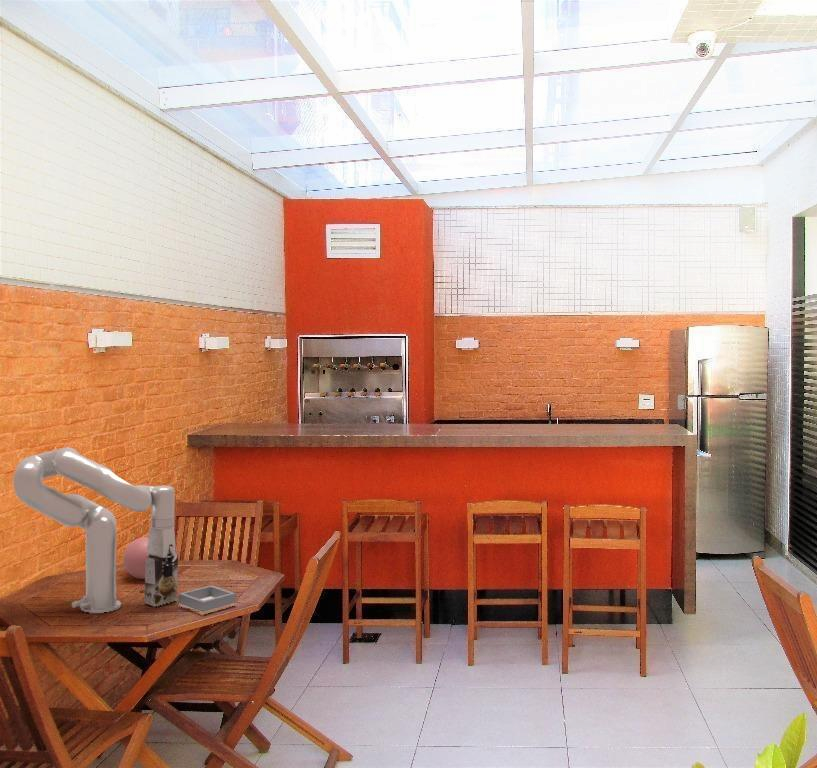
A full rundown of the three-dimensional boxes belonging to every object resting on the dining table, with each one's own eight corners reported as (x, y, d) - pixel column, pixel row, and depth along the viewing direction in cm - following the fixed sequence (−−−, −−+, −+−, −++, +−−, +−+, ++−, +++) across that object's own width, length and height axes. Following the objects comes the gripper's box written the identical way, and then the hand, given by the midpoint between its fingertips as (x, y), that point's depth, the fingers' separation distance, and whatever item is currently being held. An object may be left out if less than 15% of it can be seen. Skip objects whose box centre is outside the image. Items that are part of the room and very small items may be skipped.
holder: (203, 615, 280) (203, 602, 280) (178, 606, 288) (178, 593, 288) (235, 606, 290) (235, 593, 290) (211, 597, 299) (211, 585, 298)
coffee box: (155, 607, 286) (156, 559, 285) (143, 603, 290) (144, 556, 289) (177, 601, 294) (179, 554, 293) (166, 597, 297) (167, 551, 297)
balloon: (153, 567, 335) (153, 528, 334) (172, 580, 319) (172, 539, 318) (113, 573, 326) (113, 533, 325) (131, 586, 310) (131, 544, 309)
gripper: (138, 520, 293) (137, 571, 294) (168, 528, 282) (167, 582, 283) (157, 516, 299) (156, 567, 300) (187, 525, 288) (186, 577, 289)
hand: (161, 574), depth 291 cm, fingers closed on coffee box, 6 cm apart
